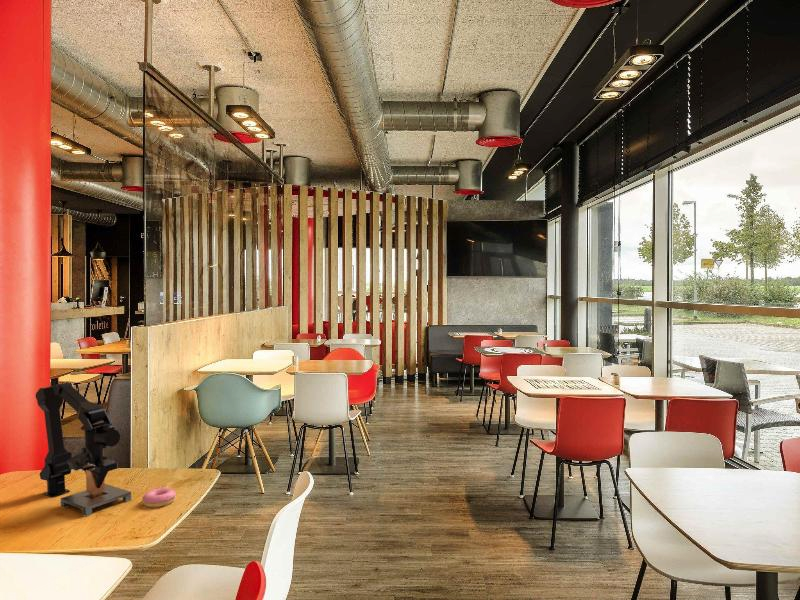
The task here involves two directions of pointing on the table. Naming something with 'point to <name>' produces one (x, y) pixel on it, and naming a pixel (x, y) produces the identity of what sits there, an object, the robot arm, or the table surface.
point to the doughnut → (159, 497)
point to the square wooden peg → (93, 484)
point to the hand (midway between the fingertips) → (95, 487)
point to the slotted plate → (87, 504)
